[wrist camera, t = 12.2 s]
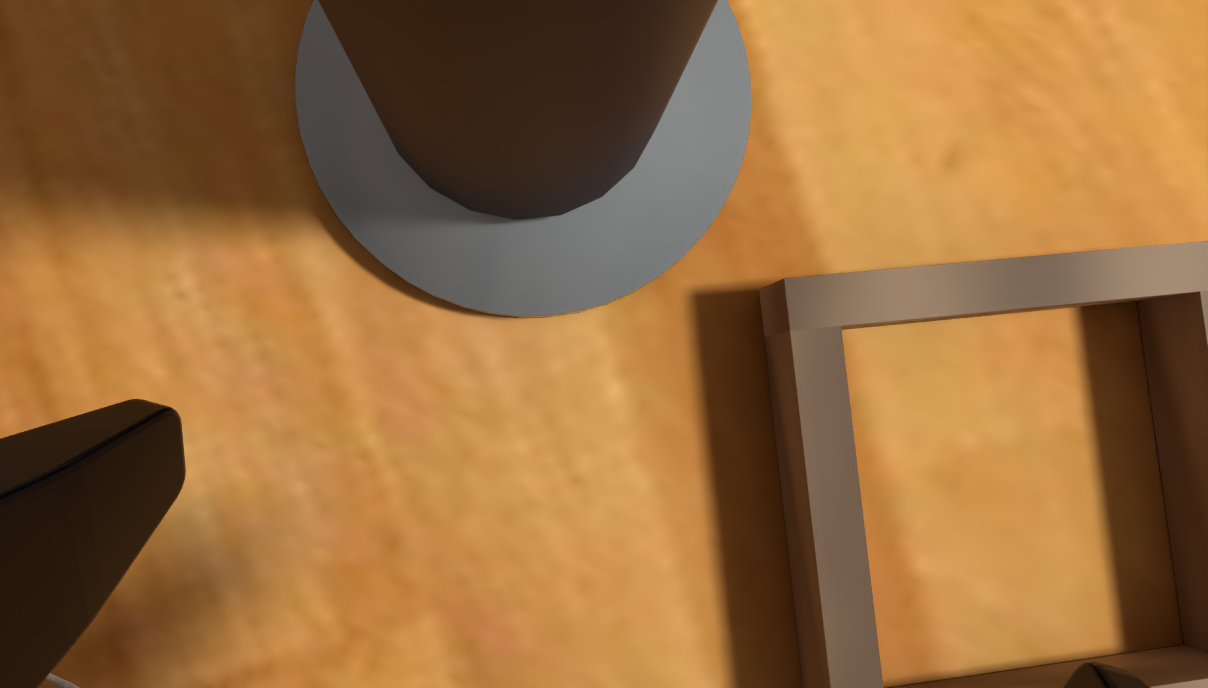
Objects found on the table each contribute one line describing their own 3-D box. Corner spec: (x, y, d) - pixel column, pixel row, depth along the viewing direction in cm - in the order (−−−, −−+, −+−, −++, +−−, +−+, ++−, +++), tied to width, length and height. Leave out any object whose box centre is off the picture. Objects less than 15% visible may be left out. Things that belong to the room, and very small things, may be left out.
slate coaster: (320, 338, 19) (314, 336, 19) (284, -106, 20) (277, -122, 19) (767, 296, 20) (774, 294, 20) (720, -122, 21) (726, -137, 20)
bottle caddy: (810, 749, 20) (842, 789, 18) (758, 289, 20) (784, 278, 18) (1233, 685, 21) (1307, 716, 19) (1171, 252, 21) (1238, 238, 19)
